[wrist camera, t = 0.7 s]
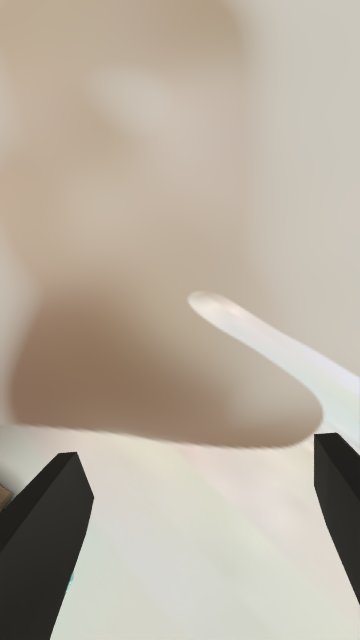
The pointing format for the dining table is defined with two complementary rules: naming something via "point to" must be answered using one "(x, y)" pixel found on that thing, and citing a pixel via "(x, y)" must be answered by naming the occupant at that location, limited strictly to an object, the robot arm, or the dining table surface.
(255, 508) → the dining table surface
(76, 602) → the dining table surface
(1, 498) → the brown piece
